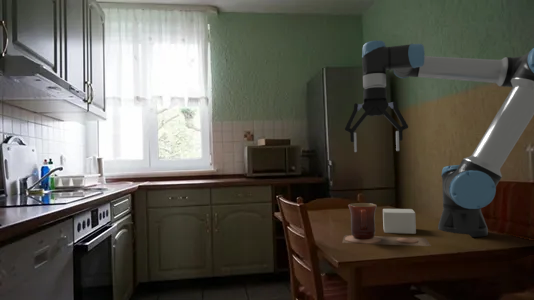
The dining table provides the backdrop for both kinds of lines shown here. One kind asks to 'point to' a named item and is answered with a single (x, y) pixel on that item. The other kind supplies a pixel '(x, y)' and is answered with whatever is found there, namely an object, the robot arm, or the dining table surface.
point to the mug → (362, 220)
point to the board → (388, 240)
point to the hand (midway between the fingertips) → (376, 151)
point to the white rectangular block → (399, 221)
